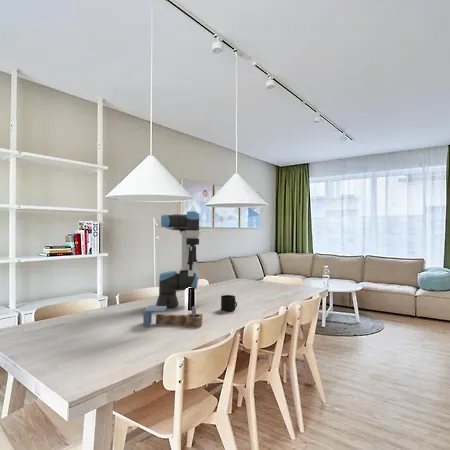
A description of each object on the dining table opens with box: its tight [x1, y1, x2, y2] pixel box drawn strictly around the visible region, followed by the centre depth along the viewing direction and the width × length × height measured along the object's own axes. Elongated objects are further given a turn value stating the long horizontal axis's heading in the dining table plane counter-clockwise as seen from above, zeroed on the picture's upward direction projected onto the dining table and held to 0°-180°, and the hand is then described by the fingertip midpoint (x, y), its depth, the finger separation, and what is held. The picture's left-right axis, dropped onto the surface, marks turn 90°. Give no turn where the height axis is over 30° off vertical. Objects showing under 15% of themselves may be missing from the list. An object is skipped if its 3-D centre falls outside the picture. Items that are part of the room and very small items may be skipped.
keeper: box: [142, 305, 168, 328], centre depth 184 cm, size 11×11×9 cm
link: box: [155, 313, 203, 328], centre depth 184 cm, size 25×8×5 cm, turn 89°
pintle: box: [191, 305, 197, 317], centre depth 184 cm, size 2×2×10 cm
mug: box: [220, 294, 238, 313], centre depth 217 cm, size 9×12×9 cm
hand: (192, 274), depth 193 cm, fingers open, 13 cm apart
